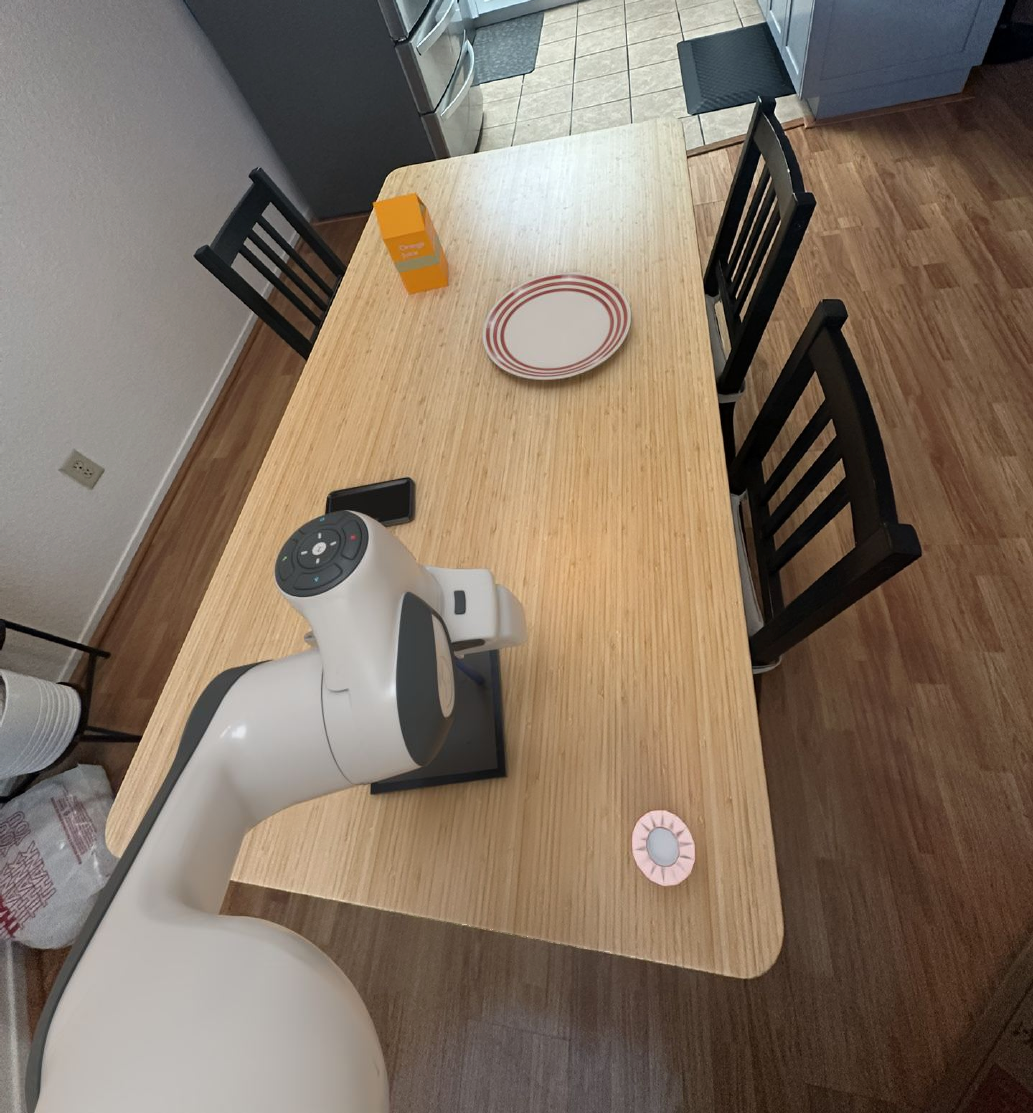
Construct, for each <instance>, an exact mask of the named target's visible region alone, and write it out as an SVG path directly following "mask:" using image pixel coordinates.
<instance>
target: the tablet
mask: <svg viewBox="0 0 1033 1113" xmlns="http://www.w3.org/2000/svg"><path fill="white" fill-rule="evenodd" d="M462 659H463V660H464V661H465V662H467V663H468V664H469V665H470V666H471V667H472V668H474V669H475V670H476V671H477V672H478V673H479V674H480V675H482V677H483V682H482V683H480V684H477V683H476V682H475V681H473V680H472V679H471V678H470V677H468V676H467V675H466V674H465V673H463V672H462V671H461V670H460V669H458V668H457V674H458V686H459V699H458V707H457V711H456V714H455V717H454V719H453V722H452V725H451V727H450V730H449V732H448V734H447V737H446V739H445V741H444V743H443V745H442V747H441V749H440V750H439V752H438V753H437V755H436V756H435V758H434V759H433V760H432V761H431V762H430V764H429V765H427V766H425V767H420V768H417V769H414V770H411V771H408V772H405V773H402V774H399V775H395V776H392V777H389V778H386V779H383V780H380V781H376V782H373V783H370V785H369V786H370V787H369V795H370V796H377V795H385V794H392V793H400V792H407V791H417V790H421V789H422V790H423V789H431V788H438V787H445V786H446V787H447V786H453V785H454V786H455V785H462V784H469V783H470V784H471V783H476V782H486V781H491V780H492V781H493V780H500V779H507V778H508V777H509V772H508V759H507V758H508V757H507V746H506V744H507V743H506V732H505V730H506V729H505V717H504V716H505V715H504V702H503V689H502V677H501V676H502V674H501V663H500V662H501V661H500V649H495V650H489V651H482V652H476V653H469V654H464V658H462Z"/></svg>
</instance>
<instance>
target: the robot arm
mask: <svg viewBox="0 0 1033 1113" xmlns="http://www.w3.org/2000/svg"><path fill="white" fill-rule="evenodd" d="M273 580H274V583H275V587H276V588H277V590H278V593H279V594H280V596H282V597H283V599H284V600H285V602H286V603H287V604H289V606H290V607H291V608H292V609H293V610H294V611H295V612H296V613H298V614H299V615H300V616H301V617H302V618H303V619H304V620H305V621H306V622H307V624H308V626H309V628H310V630H311V631H307V632H305V634H304V636H303V639H304V643H305V644H307V645H309V646H311V648H307V649H304V650H301V651H298V652H293V653H290V654H288V655H284V656H281V657H277V658H275V659H266V660H262V661H257V662H253V663H252V662H251V663H248V664H244V665H240V666H239V665H238V666H235V667H231V668H228V669H225V670H223V671H222V672H220V673H218V674H217V675H216V676H215V677H214V678H212V680H211V681H209V683H208V684H207V685H206V686H205V688H204V689H203V691H202V692H201V694H200V695H199V696H198V698H197V700H196V701H195V704H194V705H193V707H192V709H191V711H190V713H189V715H188V716H187V720H186V722H185V725H184V727H183V730H182V733H181V737H180V741H179V743H178V747H177V750H176V753H175V755H174V756H175V757H174V759H173V762H172V764H171V765H170V767H169V770H168V772H167V774H166V775H165V778H164V780H163V782H162V783H161V786H160V787H159V789H158V791H157V792H156V794H155V796H154V798H153V799H152V802H151V803H150V805H149V807H148V808H147V810H146V811H145V814H144V816H143V817H142V819H141V821H140V823H139V825H138V826H137V828H136V830H135V832H134V833H133V835H132V837H131V839H130V840H129V842H128V844H127V846H126V848H125V849H124V851H123V853H122V855H121V857H120V858H119V860H118V862H117V864H116V866H115V868H114V869H113V871H112V873H111V874H110V876H109V878H108V880H107V881H106V883H105V885H104V887H103V889H102V890H101V892H100V894H99V895H98V898H97V899H96V901H95V903H94V905H93V907H92V909H91V910H90V912H89V914H88V916H87V917H86V920H85V922H84V923H83V925H82V927H81V929H80V931H79V933H78V935H77V937H76V938H75V941H74V942H73V944H72V946H71V947H70V950H69V952H68V954H67V955H66V957H65V960H64V962H63V964H62V966H61V968H60V970H59V972H58V974H57V977H56V979H55V981H54V982H53V985H52V988H51V990H50V992H49V994H48V997H47V999H46V1001H45V1004H44V1006H43V1009H42V1011H41V1014H40V1016H39V1018H38V1022H37V1025H36V1028H35V1031H34V1034H33V1037H32V1041H31V1045H30V1049H29V1053H28V1057H27V1062H26V1070H25V1077H24V1079H25V1080H24V1101H25V1107H26V1111H27V1113H390V1112H391V1111H390V1106H391V1105H390V1085H389V1076H388V1070H387V1065H386V1062H385V1058H384V1053H383V1049H382V1045H381V1042H380V1039H379V1036H378V1033H377V1030H376V1027H375V1024H374V1022H373V1019H372V1017H371V1015H370V1013H369V1011H368V1008H367V1006H366V1004H365V1003H364V1001H363V999H362V997H361V995H360V993H359V992H358V990H357V988H356V987H355V985H354V984H353V983H352V981H351V980H350V979H349V977H348V976H347V975H346V974H345V972H344V971H343V970H342V969H341V967H339V965H338V964H337V963H335V961H333V960H332V958H330V956H329V955H328V954H326V953H325V952H324V951H323V950H321V948H319V947H318V946H316V945H315V944H314V943H313V942H311V941H310V940H308V938H306V937H304V936H302V935H300V934H299V933H297V932H295V931H294V930H291V929H290V928H287V927H285V926H283V925H281V924H279V923H276V922H273V921H270V920H267V919H263V918H259V917H253V916H245V915H227V914H220V912H221V908H222V906H223V902H224V900H225V896H226V893H227V891H228V888H229V886H230V881H231V879H232V876H233V873H234V870H235V867H236V864H237V861H238V858H239V854H240V852H241V848H242V846H243V843H244V840H245V837H246V836H247V834H248V833H250V831H252V830H253V829H254V828H255V827H256V826H258V825H259V824H261V823H262V822H263V821H266V820H267V819H269V818H271V817H273V816H274V815H276V814H278V813H280V812H282V811H284V810H287V809H289V808H291V807H293V806H297V805H301V804H303V803H306V802H310V801H312V800H316V799H320V798H323V797H327V796H329V795H330V796H331V795H333V794H336V793H339V792H342V791H346V790H349V789H353V788H356V787H360V786H362V787H363V786H366V785H369V784H371V783H373V782H376V781H380V780H383V779H386V778H389V777H392V776H395V775H399V774H402V773H405V772H408V771H411V770H414V769H417V768H420V767H425V766H427V765H429V764H430V762H431V761H432V760H433V759H434V758H435V756H436V755H437V753H438V752H439V750H440V749H441V747H442V745H443V743H444V741H445V739H446V737H447V734H448V732H449V730H450V727H451V725H452V722H453V719H454V717H455V714H456V711H457V707H458V699H459V686H458V674H457V666H456V660H455V659H462V658H464V654H469V653H476V652H482V651H489V650H495V649H499V650H501V649H508V648H516V647H520V646H523V645H524V644H526V643H527V642H528V639H529V638H528V636H529V635H528V623H527V616H526V610H525V608H524V606H523V603H521V601H520V600H519V598H518V597H517V596H516V595H515V594H514V593H513V592H512V591H511V590H510V589H509V588H507V587H506V586H504V585H502V584H498V583H496V582H495V577H494V572H492V571H491V570H490V569H488V568H454V567H453V568H450V567H441V566H435V565H431V564H430V565H429V564H421V563H420V562H418V561H417V559H416V557H415V556H414V554H413V553H412V552H411V550H410V549H409V548H408V547H407V546H406V545H405V543H403V542H402V541H401V539H399V538H398V536H396V535H395V534H394V533H393V532H392V531H391V530H390V529H388V528H387V526H386V527H384V526H383V525H382V524H381V523H379V522H378V521H376V520H374V519H373V518H371V517H369V516H367V515H365V514H362V513H359V512H355V511H348V510H341V511H336V512H332V513H328V514H325V513H324V514H323V515H319V516H318V517H315V518H313V519H311V520H309V521H307V522H306V523H304V524H303V525H301V526H300V527H299V528H298V529H297V530H296V531H294V532H293V533H292V534H291V535H290V536H289V537H288V538H287V540H286V541H285V542H284V544H283V545H282V547H281V548H280V550H279V552H278V554H277V555H276V559H275V562H274V566H273Z"/></svg>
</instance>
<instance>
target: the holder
mask: <svg viewBox="0 0 1033 1113" xmlns="http://www.w3.org/2000/svg"><path fill="white" fill-rule="evenodd" d="M630 839H631V840H630V847H631V848H630V850H631V854H632V857H633V859H634V862H635V865H636V867H637V869H638V871H640V872H641V873H642V874H643V876H644V877H645V878H646V879H647V881H649V882H652V883H653V884H656V885H658V886H660V887H664V888H668V887H677V886H680V884H682V883H683V882H684V881H686V880H687V879H688V878H690V876H691V875H692V871H693V870H694V867H695V864H696V861H697V860H696V859H697V858H696V841H695V839H694V837H693V835H692V832H691V830H690V827H689V826H688V824H686V823H685V821H683V819H682V818H681V817H680V816H679V815H678V814H676V813H674V812H671V811H670V810H667V809H665V808H658V809H657V808H656V809H649V810H647V811H646V812H645V813H644V814H642V815H640V816H639V817H638V819H637V820H636V822H635V824H634V827H633V828H632V831H631V836H630Z"/></svg>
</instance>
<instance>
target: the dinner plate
mask: <svg viewBox="0 0 1033 1113" xmlns="http://www.w3.org/2000/svg"><path fill="white" fill-rule="evenodd" d="M631 321H632V313H631V307H630V303H629V301H628V300H627V297H626V296H625V294H624V293H623V292H622V291H621V289H619V288H618V287H617V286H616V285H614V284H613V283H611V282H610V281H608V280H606V279H605V278H602V277H600V276H597V275H594V274H589V273H584V272H574V271H563V272H553V273H548V274H544V275H540V276H537V277H534V278H531V279H528V280H526V281H524V282H522V283H520V284H519V285H516V286H515V287H513V288H511V289H510V290H509V291H508V292H506V293H505V294H503V295H502V296H501V297H500V298H499V299H498V300H497V301H496V303H494V305H493V306H492V307H491V309H490V310H489V312H488V314H487V316H486V318H485V320H484V323H483V327H482V333H481V334H482V343H483V347H484V350H485V352H486V354H487V356H488V357H489V358H490V360H491V361H492V362H493V363H494V364H495V365H496V366H497V367H498V368H500V369H501V370H503V371H505V372H507V373H508V374H510V375H514V376H516V377H519V378H523V379H528V380H538V381H552V380H562V379H567V378H571V377H575V376H578V375H581V374H583V373H586V372H588V371H590V370H592V369H594V368H596V367H597V366H599V365H601V364H603V363H604V362H605V361H607V360H608V359H609V358H610V357H611V356H612V355H613V354H614V353H615V352H617V350H618V349H619V348H620V347H621V346H622V344H623V343H624V341H625V339H626V338H627V335H628V333H629V330H630V327H631Z"/></svg>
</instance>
